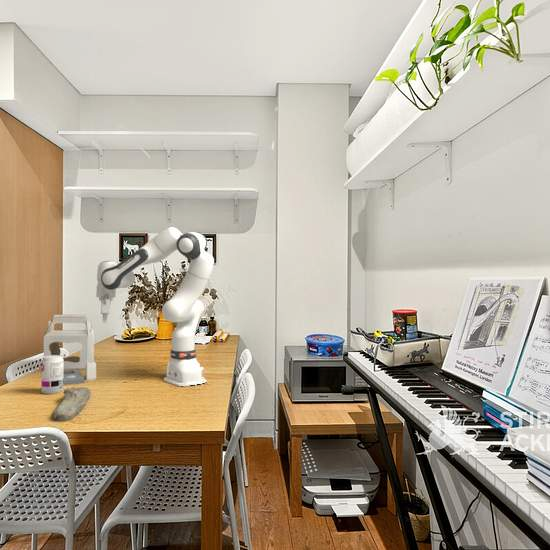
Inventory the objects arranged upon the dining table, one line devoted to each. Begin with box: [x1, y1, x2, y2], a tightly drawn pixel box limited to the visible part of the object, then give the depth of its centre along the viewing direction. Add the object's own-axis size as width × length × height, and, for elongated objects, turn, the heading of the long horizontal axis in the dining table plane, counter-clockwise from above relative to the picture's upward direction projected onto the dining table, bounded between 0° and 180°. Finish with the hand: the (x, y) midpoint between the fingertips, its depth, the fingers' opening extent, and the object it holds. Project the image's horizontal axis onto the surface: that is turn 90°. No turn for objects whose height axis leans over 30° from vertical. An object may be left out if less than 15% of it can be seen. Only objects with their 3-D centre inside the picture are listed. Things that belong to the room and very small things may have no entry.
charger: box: [85, 361, 97, 381], centre depth 204 cm, size 4×4×8 cm
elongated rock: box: [53, 386, 91, 422], centre depth 163 cm, size 35×5×10 cm
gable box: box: [43, 314, 95, 370], centre depth 229 cm, size 22×13×28 cm, turn 99°
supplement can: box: [40, 354, 64, 395], centre depth 181 cm, size 8×8×15 cm
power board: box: [63, 369, 85, 386], centre depth 203 cm, size 22×10×2 cm, turn 33°
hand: (104, 321), depth 209 cm, fingers open, 8 cm apart
